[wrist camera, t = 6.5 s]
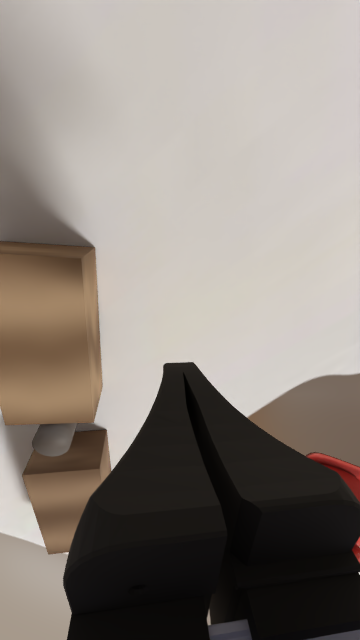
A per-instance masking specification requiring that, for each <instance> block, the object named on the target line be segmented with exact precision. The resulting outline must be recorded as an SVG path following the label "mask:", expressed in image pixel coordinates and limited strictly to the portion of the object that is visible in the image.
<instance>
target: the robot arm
mask: <svg viewBox="0 0 360 640" xmlns="http://www.w3.org/2000/svg"><path fill="white" fill-rule="evenodd" d="M359 537H360V502H359V501H358V499H357V498H356V496H355V495H354V493H353V492H352V490H351V489H350V488H349V486H348V485H347V484H346V482H345V481H344V480H343V479H342V477H341V476H340V475H339V474H338V472H336V471H334V470H332V469H330V468H328V467H326V466H324V465H322V464H320V463H318V462H316V461H314V460H312V459H310V458H308V457H306V456H304V455H302V454H301V453H299V452H297V451H295V450H294V449H292V448H290V447H289V446H287V445H285V444H284V443H282V442H280V441H278V440H277V439H275V438H274V437H272V436H271V435H270V434H268V433H267V432H265V431H264V430H262V429H261V428H259V427H258V426H257V425H255V424H254V423H253V422H251V421H250V420H249V419H248V418H246V417H245V416H244V415H243V414H241V413H240V412H239V411H238V410H237V409H236V408H234V407H233V406H232V405H231V404H230V403H229V402H228V401H227V400H226V399H225V398H224V397H223V396H222V395H221V394H220V393H219V392H218V391H217V390H216V389H215V387H214V386H213V385H212V384H211V383H210V382H209V381H208V380H207V378H206V377H205V376H204V375H203V373H202V372H201V371H200V370H199V368H198V367H197V366H196V365H195V364H194V363H193V362H187V363H166V364H165V365H163V378H162V382H161V385H160V388H159V391H158V394H157V397H156V399H155V402H154V404H153V406H152V409H151V411H150V413H149V415H148V417H147V419H146V421H145V423H144V424H143V426H142V428H141V430H140V431H139V433H138V435H137V436H136V438H135V440H134V441H133V443H132V444H131V446H130V447H129V449H128V450H127V451H126V453H125V454H124V455H123V457H122V458H121V460H120V461H119V462H118V464H117V465H116V466H115V468H114V469H113V470H112V471H111V473H110V474H109V475H108V476H107V477H106V479H105V480H104V481H103V482H102V483H101V484H100V486H99V487H98V488H97V489H96V490H95V491H94V493H93V494H92V495H91V496H90V498H89V500H88V502H87V504H86V507H85V509H84V511H83V513H82V516H81V518H80V521H79V523H78V525H77V528H76V531H75V534H74V537H73V540H72V543H71V546H70V550H69V554H68V559H67V564H66V568H65V572H64V577H63V586H64V589H65V592H66V596H67V599H68V602H69V605H70V608H71V612H72V615H71V621H70V626H69V631H68V637H67V640H360V575H359V573H358V572H360V563H359V561H358V559H357V557H356V556H355V554H354V552H353V551H352V549H353V547H354V545H355V544H356V542H357V540H358V539H359ZM208 612H210V622H211V625H208V623H207V617H208Z"/></svg>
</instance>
